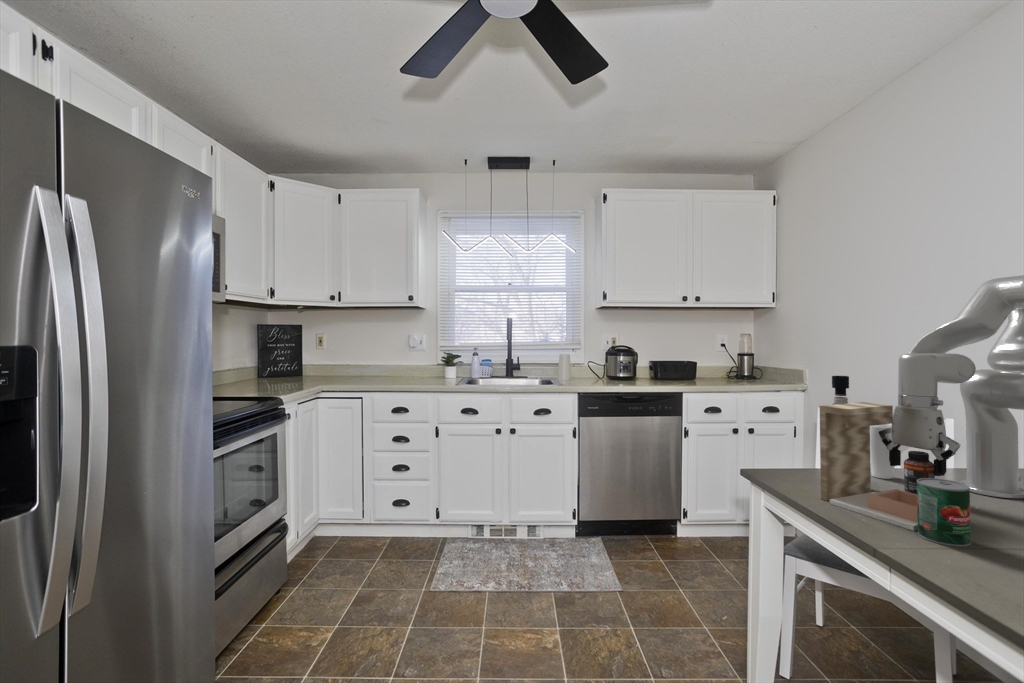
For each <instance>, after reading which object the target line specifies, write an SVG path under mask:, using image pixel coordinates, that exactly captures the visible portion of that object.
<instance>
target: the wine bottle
mask: <svg viewBox="0 0 1024 683" xmlns="http://www.w3.org/2000/svg"><path fill="white" fill-rule="evenodd" d="M831 388H833V389H834V397H833V403H832V405H835V404H847V403H849V399H848V397H847V389H850V376H848V375H831Z"/></svg>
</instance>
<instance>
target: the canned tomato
mask: <svg viewBox="0 0 1024 683" xmlns="http://www.w3.org/2000/svg"><path fill="white" fill-rule="evenodd" d="M959 482H960V481H959ZM959 482H958V481H954V480H949V479H945V478H944V479H943V478H936V477H935V478H921V479H917V506H918V508H917V509H918V512H917V513H918V516H917V517H918V530H917V535H918V536H919V537H921V538H922V539H924V540H926V541H929V542H932V543H935V544H939V545H942V546H949V547H956V548H957V547H958V548H959V547H961V548H963V547H964V548H965V547H970V546H971V544H972V542H971V500H970V499H971V498H970V497H971V494H970V493H971V491H970V487H969V486H967V485H965V484H962V483H959Z"/></svg>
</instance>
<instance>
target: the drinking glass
mask: <svg viewBox="0 0 1024 683" xmlns="http://www.w3.org/2000/svg"><path fill="white" fill-rule="evenodd" d="M891 425H892V424H883V425H874V426H870V471H871V477H874V478H876V479H882V480H892V479H894V478H895V467H896V466H890V461H889V450H888V449H887V447H886V445H885V444H884V443H883V442H882V439H881V437H880V435H879V431H882V430H885V429H888V428H891ZM888 438H889V439H890V440H891V434H888ZM891 441H892V440H891Z"/></svg>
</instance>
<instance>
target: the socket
mask: <svg viewBox="0 0 1024 683" xmlns="http://www.w3.org/2000/svg"><path fill="white" fill-rule="evenodd" d="M829 504H830V505H832V506H833V505H834V506H836V507H839V508H843V509H846V510H849V511H852V512H855V513H857V512H858V513H857V514H860V513H861V515H864V516H867V517H869V518H872V519H873V518H874V519H876V520H880V521H883V522H885V523H889V524H892V525H894V526H898V527H901V528H904V529H907V530H911V531H912V532H914V531H918V517H917V516H918V513H917V512H918V509H917V508H918V506H917V494H913V493H909V492H906V491H905V490H901V489H898V488H896V489H894V488H893V489H890V490H885V491H884V490H882V491H878V492H877V491H871V492H869V493H863V494H858V495H852V496H846V497H841V498H835V499H830V501H829Z"/></svg>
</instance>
